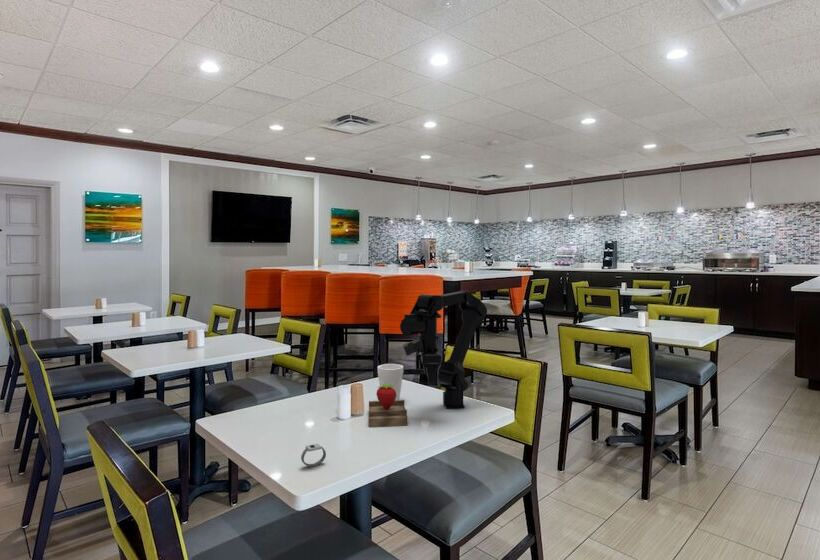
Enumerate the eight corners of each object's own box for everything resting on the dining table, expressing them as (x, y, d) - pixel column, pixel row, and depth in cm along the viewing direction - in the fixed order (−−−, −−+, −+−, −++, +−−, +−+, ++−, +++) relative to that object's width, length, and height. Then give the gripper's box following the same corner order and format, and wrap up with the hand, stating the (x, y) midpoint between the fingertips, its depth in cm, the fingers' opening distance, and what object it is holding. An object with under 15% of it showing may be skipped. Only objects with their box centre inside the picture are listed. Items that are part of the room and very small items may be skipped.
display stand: (403, 409, 164) (403, 397, 163) (407, 425, 148) (407, 412, 148) (368, 410, 163) (368, 399, 162) (369, 426, 147) (368, 414, 146)
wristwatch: (323, 460, 122) (323, 441, 122) (327, 464, 120) (327, 445, 120) (300, 466, 119) (299, 446, 119) (303, 470, 117) (303, 450, 117)
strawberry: (385, 415, 150) (385, 383, 150) (372, 409, 156) (372, 379, 156) (400, 411, 154) (400, 380, 153) (387, 405, 160) (386, 376, 159)
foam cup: (406, 399, 176) (406, 364, 175) (400, 406, 167) (400, 370, 166) (381, 397, 178) (381, 363, 177) (374, 404, 169) (374, 368, 168)
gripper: (402, 328, 166) (402, 372, 166) (406, 337, 147) (406, 387, 148) (433, 328, 167) (433, 371, 167) (441, 336, 148) (442, 385, 149)
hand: (428, 378), depth 158 cm, fingers open, 9 cm apart
